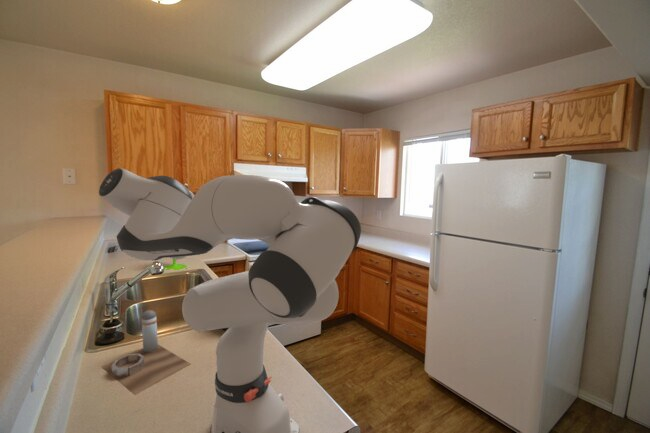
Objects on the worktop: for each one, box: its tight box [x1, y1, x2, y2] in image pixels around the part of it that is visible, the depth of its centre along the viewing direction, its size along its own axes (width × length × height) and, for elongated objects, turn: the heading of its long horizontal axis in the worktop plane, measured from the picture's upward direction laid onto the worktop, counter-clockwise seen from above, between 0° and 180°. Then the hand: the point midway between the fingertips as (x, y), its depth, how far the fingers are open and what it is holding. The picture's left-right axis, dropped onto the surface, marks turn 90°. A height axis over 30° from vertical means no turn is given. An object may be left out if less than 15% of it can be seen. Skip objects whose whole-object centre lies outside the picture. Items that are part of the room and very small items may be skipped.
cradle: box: [112, 353, 145, 377], centre depth 94 cm, size 8×8×2 cm
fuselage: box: [140, 309, 159, 353], centre depth 104 cm, size 5×5×14 cm
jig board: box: [101, 344, 191, 396], centre depth 96 cm, size 22×17×1 cm
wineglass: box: [163, 259, 188, 270], centre depth 200 cm, size 16×16×18 cm
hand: (196, 232), depth 89 cm, fingers open, 8 cm apart
